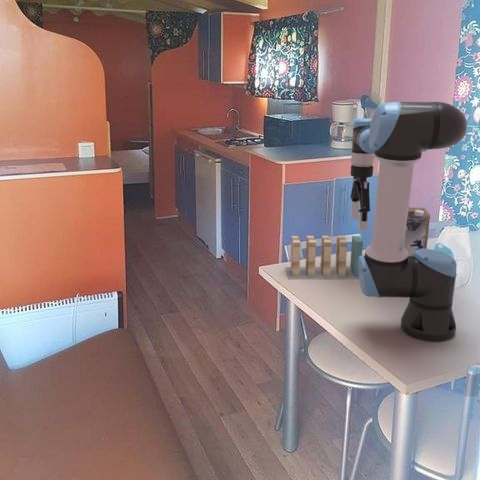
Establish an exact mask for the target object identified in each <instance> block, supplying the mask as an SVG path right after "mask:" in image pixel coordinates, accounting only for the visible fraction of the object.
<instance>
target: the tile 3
mask: <svg viewBox="0 0 480 480" xmlns="http://www.w3.org/2000/svg"><path fill="white" fill-rule="evenodd" d="M332 243H333V242H332V240H331V238H330V236H329V235H322V236H321V249H320V254H321V255H320V266H319V267H320V270H321V272H322V275H323V276H330V267H331V262H332V261H331V260H332Z"/></svg>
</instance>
